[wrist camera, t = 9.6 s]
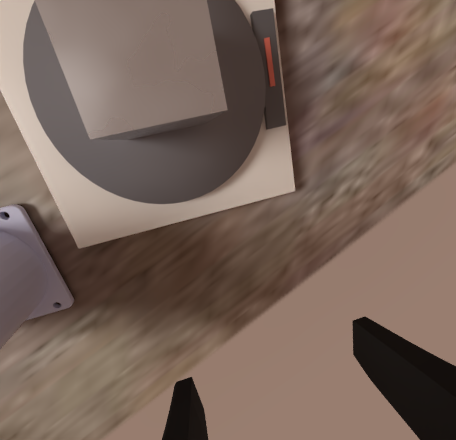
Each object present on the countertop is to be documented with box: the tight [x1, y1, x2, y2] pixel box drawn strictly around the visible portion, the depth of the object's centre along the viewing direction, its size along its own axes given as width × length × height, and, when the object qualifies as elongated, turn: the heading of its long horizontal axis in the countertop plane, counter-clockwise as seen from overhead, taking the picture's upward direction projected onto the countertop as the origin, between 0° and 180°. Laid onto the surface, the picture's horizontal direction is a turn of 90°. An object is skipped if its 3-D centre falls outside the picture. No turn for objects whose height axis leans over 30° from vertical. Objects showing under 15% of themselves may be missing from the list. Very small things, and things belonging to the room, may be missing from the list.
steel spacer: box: [35, 0, 228, 140], centre depth 9 cm, size 4×4×6 cm
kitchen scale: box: [0, 0, 295, 249], centre depth 14 cm, size 15×15×2 cm
